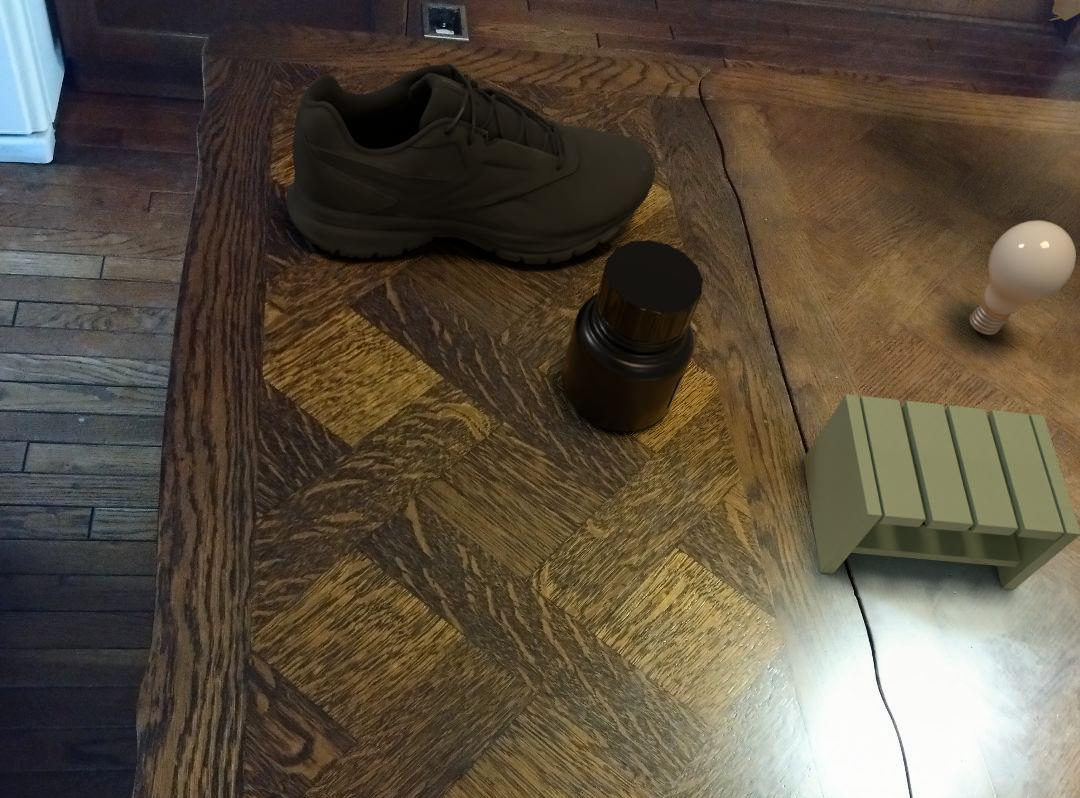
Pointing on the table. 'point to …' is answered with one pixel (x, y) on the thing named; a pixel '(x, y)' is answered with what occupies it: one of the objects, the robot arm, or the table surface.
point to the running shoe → (456, 171)
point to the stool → (938, 486)
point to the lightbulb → (1023, 271)
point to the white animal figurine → (1066, 9)
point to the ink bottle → (633, 337)
